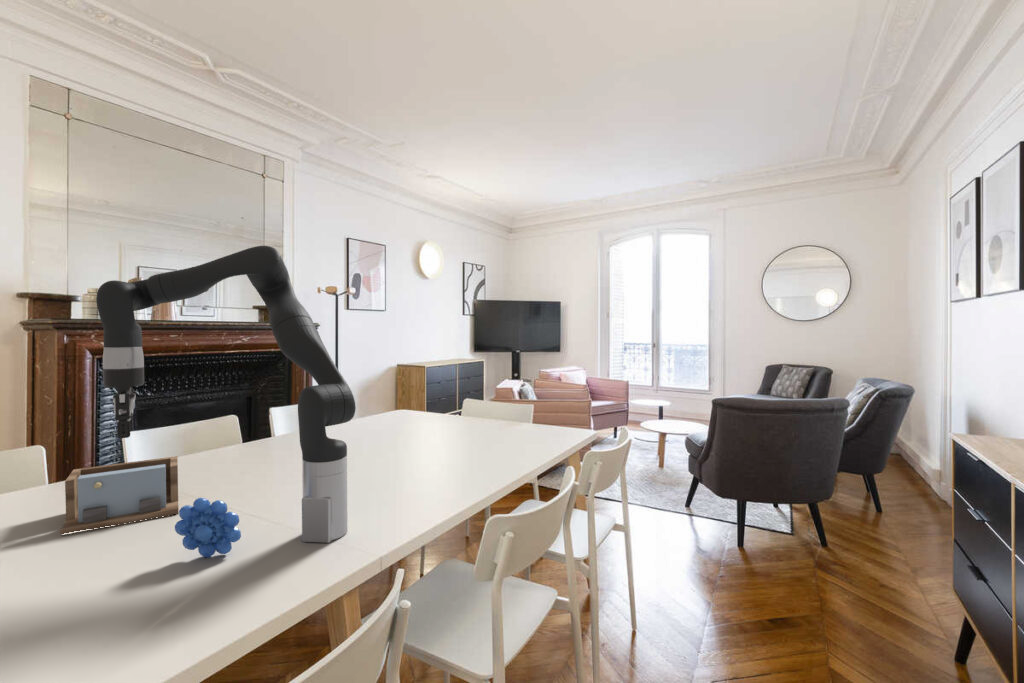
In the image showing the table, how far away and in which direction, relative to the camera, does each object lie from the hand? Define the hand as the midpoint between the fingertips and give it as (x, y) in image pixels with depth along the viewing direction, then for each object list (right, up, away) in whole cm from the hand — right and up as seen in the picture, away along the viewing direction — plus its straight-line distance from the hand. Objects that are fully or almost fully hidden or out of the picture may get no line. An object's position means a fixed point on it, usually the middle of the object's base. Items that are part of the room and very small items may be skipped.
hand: (125, 434), depth 112 cm
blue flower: (+31, -21, -18) cm, 42 cm away
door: (-1, -19, +1) cm, 19 cm away
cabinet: (-3, -20, +4) cm, 21 cm away
